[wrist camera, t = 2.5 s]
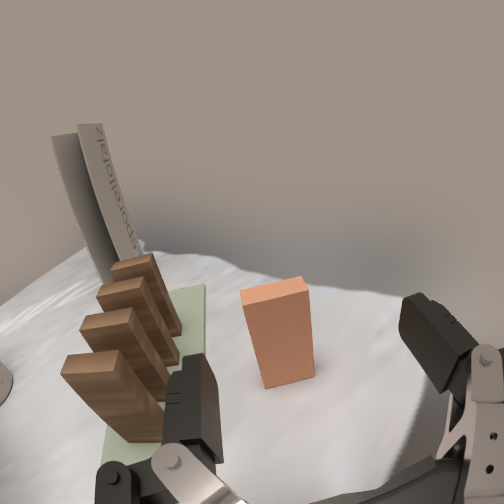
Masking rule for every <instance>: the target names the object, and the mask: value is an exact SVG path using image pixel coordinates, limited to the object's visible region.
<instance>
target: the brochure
mask: <svg viewBox="0 0 504 504" xmlns="http://www.w3.org/2000/svg"><path fill="white" fill-rule="evenodd" d="M76 127H77V132H78V133H72V134H65V135H58V136H52V137H50V139H51V143H52V147H53V151H54V155H55V158H56V162H57V165H58V169H59V172H60V175H61V179H62V182H63V185H64V188H65V191H66V194H67V197H68V200H69V203H70V206H71V209H72V211H73V214H74V217H75V220H76V222H77V225H78V228H79V230H80V233H81V235H82V238H83V240H84V243H85V245H86V247H87V250H88V252H89V254H90V257H91V259H92V261H93V263H94V266H95V268H96V270H97V272H98V274H99V276H100V278H101V281H102V283H103V285H107V284H111V283H113V280H114V279H113V277H112V275H111V272H110V270H111V268H112V266H113V265H114V263H115V262H118V261H122V260H126V259H130V258H134V257H138V256H142V251H141V248H140V245H139V243H138V240H137V237H136V234H135V232H134V229H133V226H132V223H131V220H130V218H129V215H128V212H127V209H126V206H125V203H124V200H123V196H122V193H121V190H120V187H119V184H118V180H117V177H116V174H115V170H114V167H113V163H112V160H111V156H110V152H109V149H108V145H107V141H106V137H105V133H104V129H103V125H102V123H99V124H98V123H97V124H77V125H76Z"/></svg>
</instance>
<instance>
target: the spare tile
mask: <svg viewBox="0 0 504 504" xmlns="http://www.w3.org/2000/svg"><path fill="white" fill-rule="evenodd" d="M240 295H241V301H242V307H243V310H244V314H245V318H246V321H247V325H248V329H249V332H250V336H251V340H252V343H253V347H254V351H255V354H256V358H257V361H258V365H259V369H260V372H261V376H262V379H263V383H264V386H265V389H268V388H272V387H276V386H281V385H285V384H289V383H293V382H297V381H300V380H304V379H308V378H311V377H314V358H313V341H312V327H311V314H310V301H309V290H308V288H307V286H306V284H305V282H304V280H303V279H302V277H301V276H299V277H295V278H291V279H286V280H282V281H278V282H274V283H270V284H265V285H261V286H257V287H252V288H248V289H244V290H240Z"/></svg>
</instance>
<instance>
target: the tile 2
mask: <svg viewBox="0 0 504 504" xmlns="http://www.w3.org/2000/svg"><path fill="white" fill-rule="evenodd" d="M60 374H61V376H62V377H63V378H64V379H65V380H66V382H67V383H68V384H69V385H70V386H71V387H72V388H73V390H74V391H75V392H76V393H77V394H78V395H79V396H80V397H81V398H82V399H83V400H84V401H85V403H86V404H87V405H88V406H89V407H90V408H91V409H92V410H93V411H94V412H95V413H96V414H97V415H98V416H99V417H100V418H101V419H102V420H103V421H105V422H106V423H107V424H108V425H109V426H110V427H111V428H112V429H113V430H114V431H115V432H116V433H118V434H119V435H120V436H121V437H122V438H123V439H124V440H126V441H127V442H128V443H162V435H163V420H164V410H163V409H162V408H161V407H160V406H159V404H158V403H157V402H156V400H155V399H154V398H153V397H152V395H151V394H150V393H149V391H148V390H147V389H146V387H145V386H144V385H143V383H142V382H141V381H140V379H139V378H138V377H137V375H136V374H135V372H134V371H133V370H132V368H131V367H130V365H129V364H128V362H127V361H126V359H125V358H124V356H123V355H122V353H121V352H120V350H112V351H104V352H95V353H85V354H75V355H68V356H67V358H66V360H65V363H64V365H63V368H62V370H61V373H60Z"/></svg>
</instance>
